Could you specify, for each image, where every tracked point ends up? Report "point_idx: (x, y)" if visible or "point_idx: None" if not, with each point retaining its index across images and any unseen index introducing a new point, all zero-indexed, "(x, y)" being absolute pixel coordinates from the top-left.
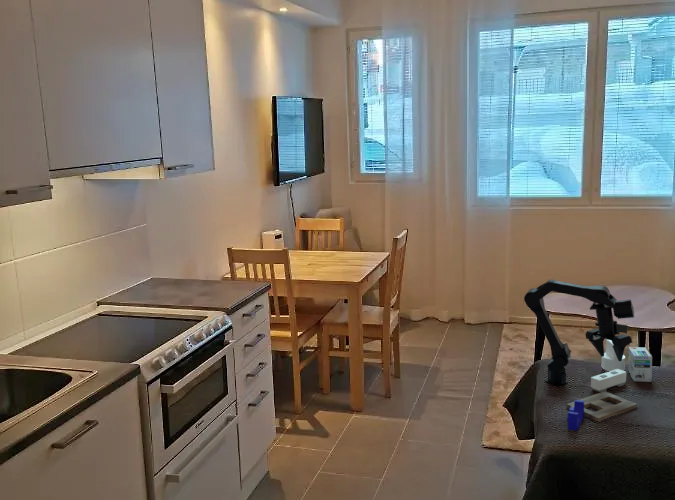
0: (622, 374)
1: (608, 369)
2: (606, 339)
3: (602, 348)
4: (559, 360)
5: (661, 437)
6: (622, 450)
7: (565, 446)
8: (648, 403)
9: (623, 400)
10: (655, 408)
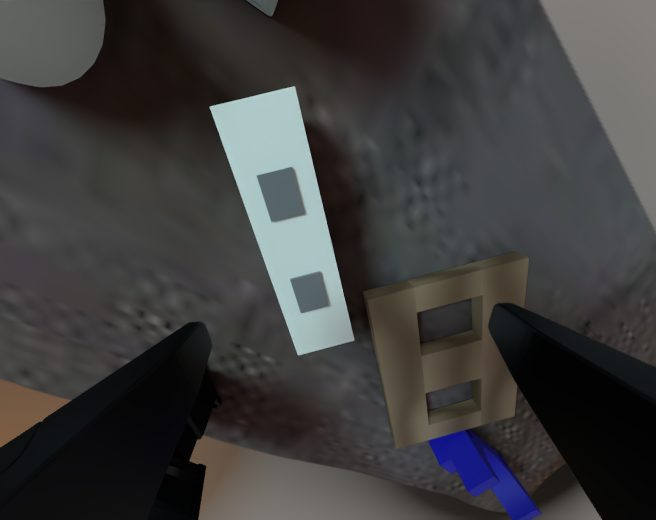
0: (306, 139)
1: (57, 66)
2: None
3: (124, 426)
4: None
5: None
6: None
7: (532, 491)
8: (517, 177)
9: (476, 285)
10: (562, 186)
